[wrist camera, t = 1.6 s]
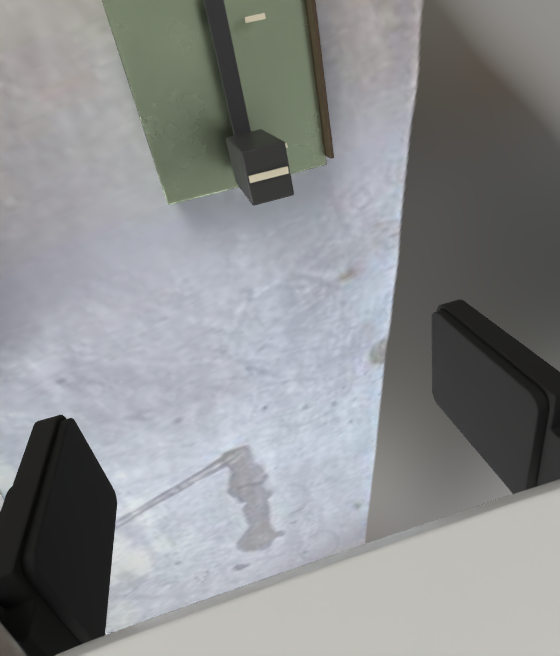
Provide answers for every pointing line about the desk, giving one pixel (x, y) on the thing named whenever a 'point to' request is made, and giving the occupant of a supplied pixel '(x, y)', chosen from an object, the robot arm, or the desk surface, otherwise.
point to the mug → (1, 501)
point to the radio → (217, 86)
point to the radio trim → (231, 74)
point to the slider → (260, 166)
